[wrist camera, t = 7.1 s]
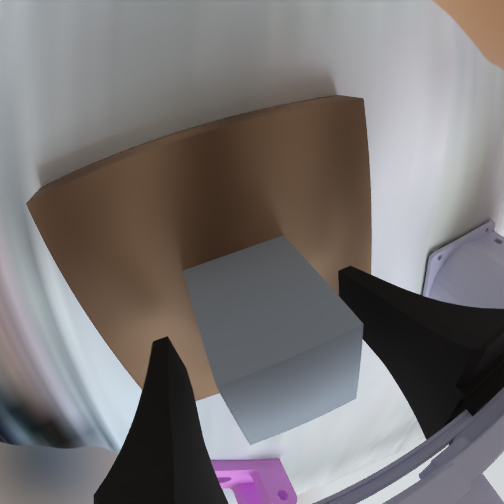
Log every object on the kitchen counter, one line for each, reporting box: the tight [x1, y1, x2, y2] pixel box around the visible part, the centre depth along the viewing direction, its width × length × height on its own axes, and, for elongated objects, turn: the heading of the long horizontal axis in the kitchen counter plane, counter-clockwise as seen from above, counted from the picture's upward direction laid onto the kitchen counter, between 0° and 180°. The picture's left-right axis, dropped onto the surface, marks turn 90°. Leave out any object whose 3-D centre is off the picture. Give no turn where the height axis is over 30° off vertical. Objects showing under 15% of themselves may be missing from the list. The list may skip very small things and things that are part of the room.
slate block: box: [183, 235, 364, 445], centre depth 12 cm, size 4×4×6 cm
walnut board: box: [26, 95, 372, 401], centre depth 15 cm, size 14×14×2 cm
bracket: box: [211, 459, 297, 504], centre depth 25 cm, size 13×6×7 cm, turn 56°
